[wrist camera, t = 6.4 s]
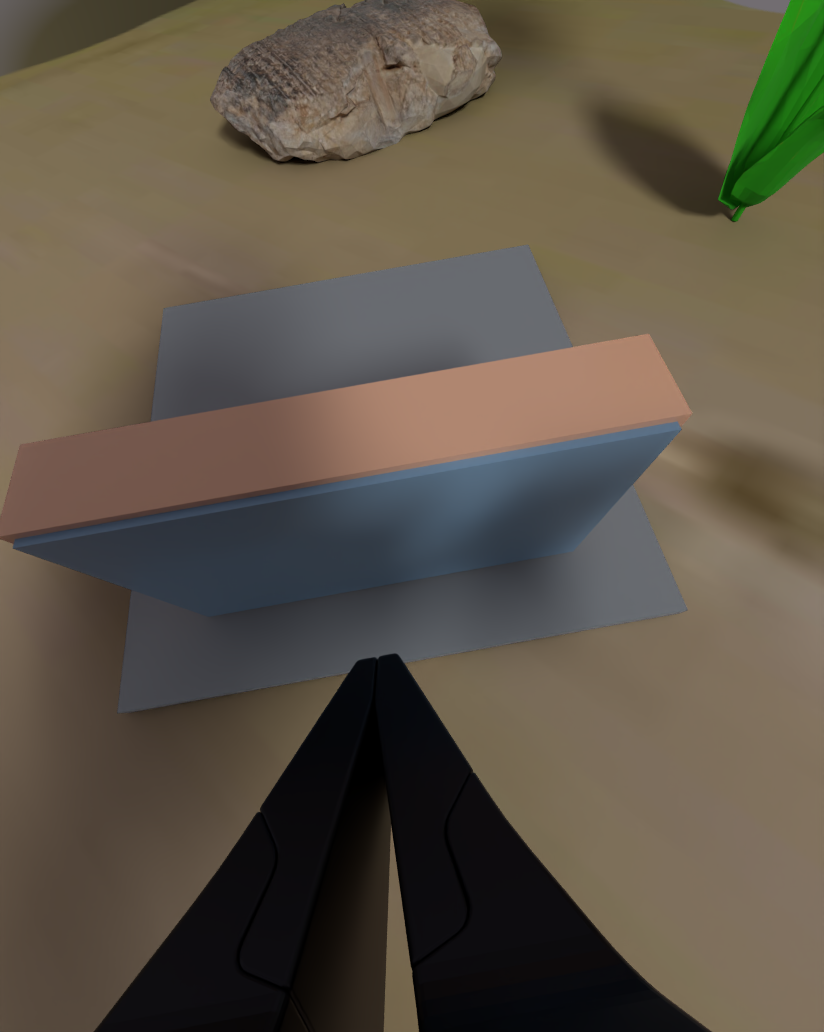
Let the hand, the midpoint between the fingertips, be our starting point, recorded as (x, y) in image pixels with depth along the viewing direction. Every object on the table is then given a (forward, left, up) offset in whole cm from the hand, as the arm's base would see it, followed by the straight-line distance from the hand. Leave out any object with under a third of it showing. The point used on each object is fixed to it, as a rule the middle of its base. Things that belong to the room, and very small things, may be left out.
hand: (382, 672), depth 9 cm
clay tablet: (+30, -27, -7) cm, 41 cm away
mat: (+8, -7, -7) cm, 13 cm away
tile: (+4, -3, -6) cm, 8 cm away
